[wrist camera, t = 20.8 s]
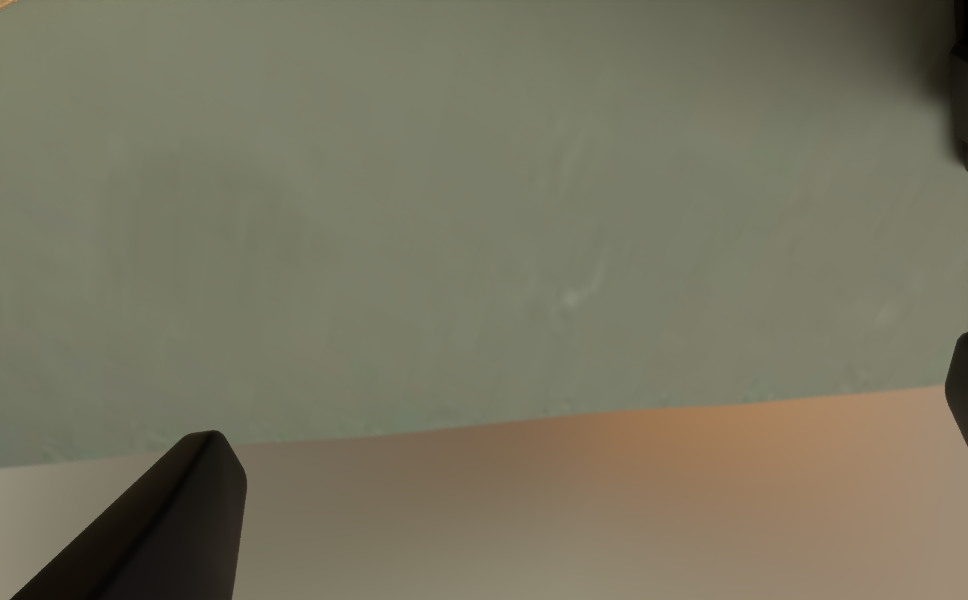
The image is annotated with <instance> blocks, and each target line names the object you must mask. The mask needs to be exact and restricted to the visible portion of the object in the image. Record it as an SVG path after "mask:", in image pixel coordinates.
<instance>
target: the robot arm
mask: <svg viewBox="0 0 968 600" xmlns="http://www.w3.org/2000/svg"><path fill="white" fill-rule="evenodd" d="M953 2H954V17H955V32H956V41H955V43H954V44H953V46H952V48H951V50H950V52H949V68H950V81H951V94H952V107H953V121H954V132H955V134H956V135H957V136H958V137H959V138H961V139H962V140H963V149H964V164H965V168H966V171H968V0H953ZM945 395H946V399H947V402H948V405H949V407H950V410H951V412H952V414H953V416H954V418H955V420H956V423H957V425H958V427H959V429H960V431H961V433H962V435H963V438H964V440H965V442H966V444H967V446H968V332H967V333H964V334H962V335H961V336H960V337H959V339H958V340H957V343H956V346H955V350H954V353H953V357H952V361H951V364H950V368H949V371H948V375H947V379H946V383H945ZM246 492H247V479H246V474H245V471H244V469H243V467H242V465H241V463H240V462H239V460H238V458H237V456H236V455H235V453H234V451H233V450H232V448H231V446H230V444H229V443H228V441H227V439H226V438H225V436H224V435H223V434H222V433H221V432H219V431H215V430H211V431H204V432H196V433H191V434H188V435H186V436H184V437H183V438H182V439H181V440H180V441H179V442H177V443H176V444H175V445H174V446H173V447H172V448H171V449H170V450H169V451H168V452H167V453H166V454H165V455H164V456H163V457H161V458H160V459H159V460H158V461H157V462H156V463H155V464H154V465H153V466H152V467H151V468H150V469H149V470H148V471H147V472H146V473H144V475H142V476H141V477H140V478H139V479H138V480H137V481H136V482H135V483H134V484H133V485H132V486H131V487H130V488H128V489H127V490H126V491H125V492H124V493H123V494H122V495H121V496H120V497H119V498H118V499H117V500H116V501H115V502H114V503H112V504H111V505H110V506H109V507H108V508H107V509H106V510H105V511H104V512H103V513H102V514H101V515H100V516H99V517H97V518H96V519H95V520H94V521H93V522H92V523H91V524H90V525H89V526H88V527H87V528H86V529H85V530H84V531H83V532H82V533H80V534H79V535H78V536H77V537H76V538H75V539H74V540H73V541H72V542H71V543H70V544H69V545H68V546H67V547H66V548H64V549H63V550H62V551H61V552H60V553H59V554H58V555H57V556H56V557H55V558H54V559H53V560H52V561H51V562H50V563H48V564H47V565H46V566H45V567H44V568H43V569H42V570H41V571H40V572H39V573H38V574H37V575H36V576H35V577H34V578H32V579H31V580H30V581H29V582H28V583H27V584H26V585H25V586H24V587H23V588H22V589H21V590H20V591H19V592H17V593H16V594H15V595H14V596H13V597H12V598H11V599H10V600H232V595H233V588H234V582H235V575H236V568H237V560H238V553H239V545H240V537H241V530H242V522H243V515H244V508H245V500H246Z"/></svg>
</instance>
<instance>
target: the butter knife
mask: <svg viewBox="0 0 968 600" xmlns="http://www.w3.org/2000/svg"><path fill="white" fill-rule="evenodd" d="M16 1H18V0H0V11H1V10H3V9H4V8H6V7H8V6H10V5H11V4H13V3H15V2H16Z"/></svg>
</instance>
